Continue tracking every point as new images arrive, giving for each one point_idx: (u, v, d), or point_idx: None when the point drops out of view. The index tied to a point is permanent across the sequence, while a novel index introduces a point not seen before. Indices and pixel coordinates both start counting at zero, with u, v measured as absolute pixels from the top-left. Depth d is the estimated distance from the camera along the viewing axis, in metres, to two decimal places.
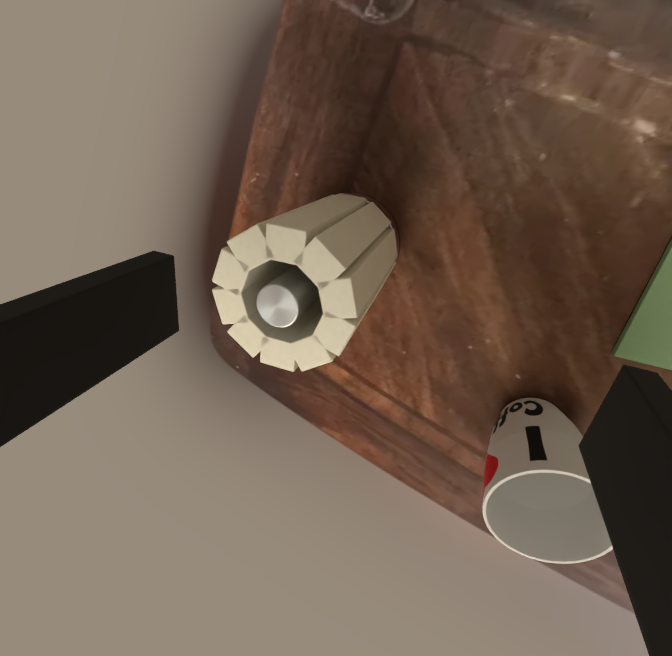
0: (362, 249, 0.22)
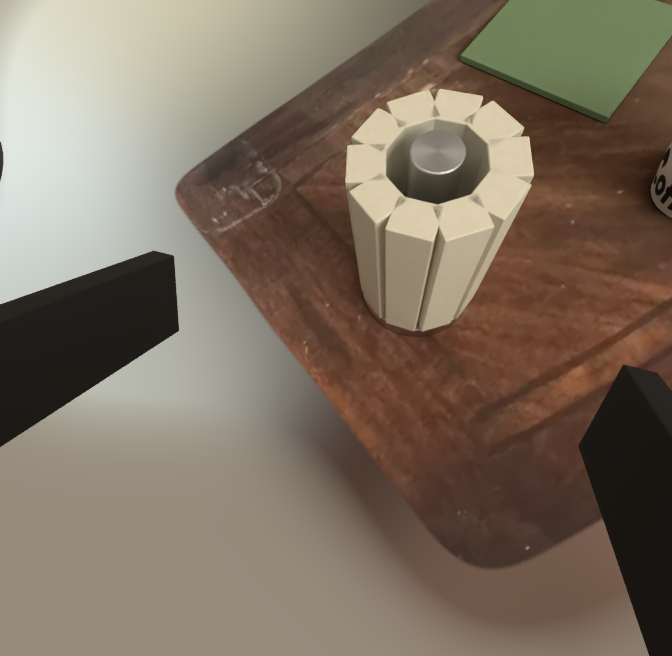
0: None
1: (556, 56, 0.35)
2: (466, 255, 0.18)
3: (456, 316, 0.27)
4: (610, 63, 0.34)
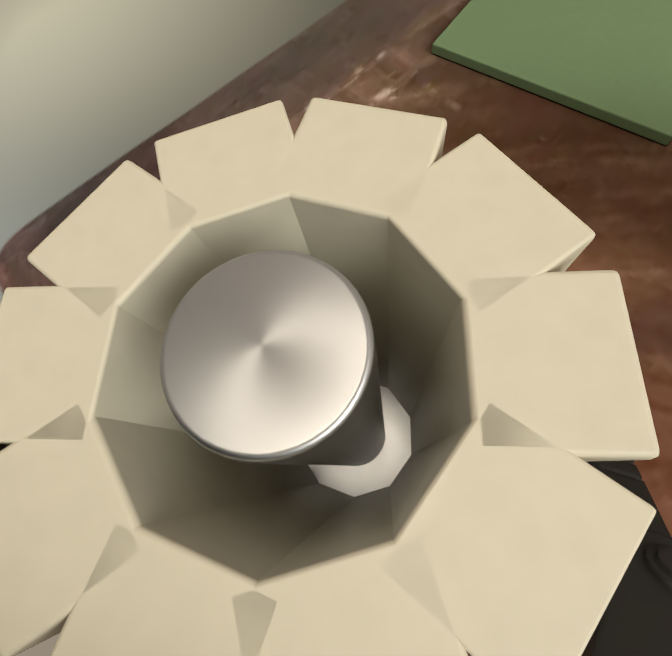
0: None
1: (580, 42, 0.22)
2: None
3: None
4: (667, 51, 0.21)
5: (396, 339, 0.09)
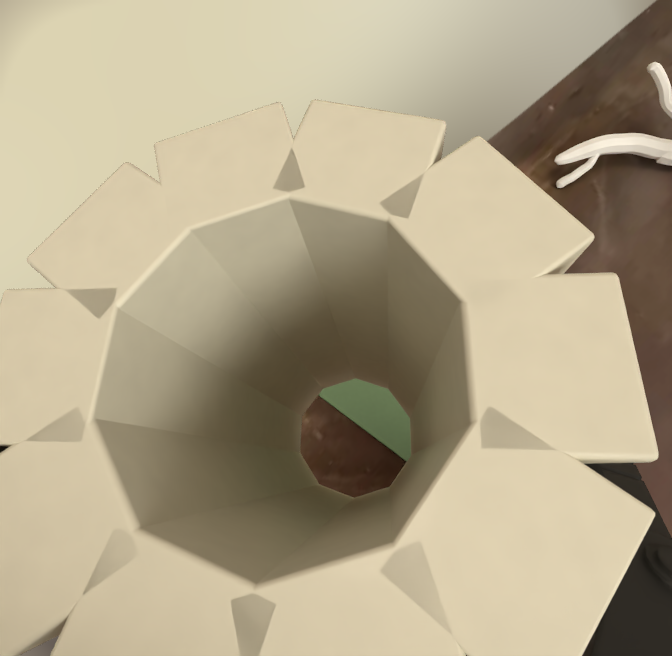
0: None
1: None
2: None
3: None
4: None
5: (396, 340, 0.09)
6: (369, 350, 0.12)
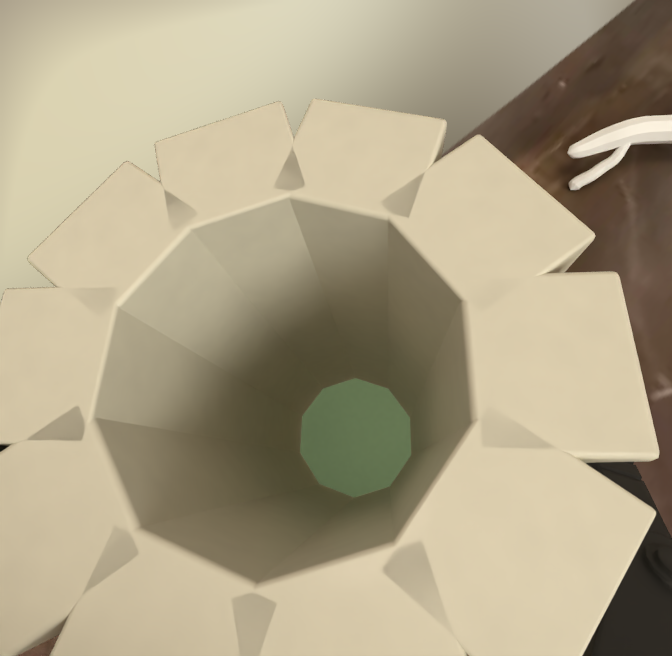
0: None
1: (339, 489, 0.24)
2: None
3: None
4: None
5: (396, 340, 0.09)
6: (369, 349, 0.12)
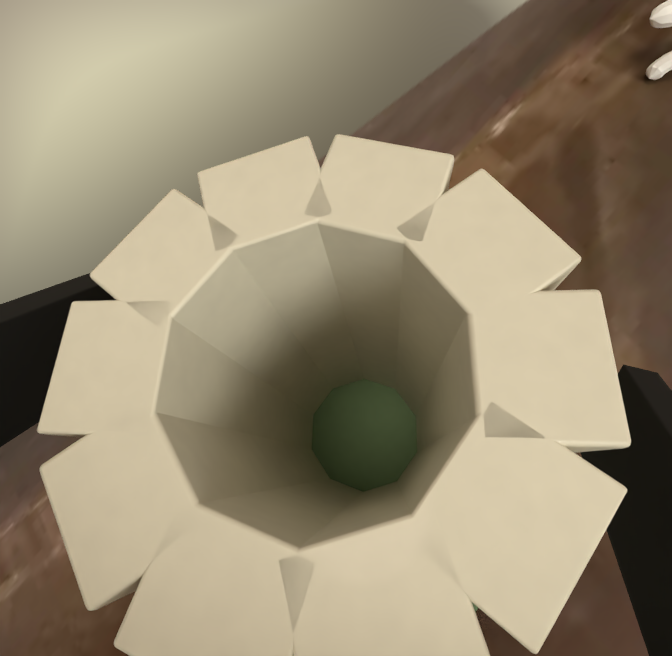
0: None
1: None
2: None
3: None
4: None
5: (406, 344, 0.10)
6: (379, 352, 0.12)
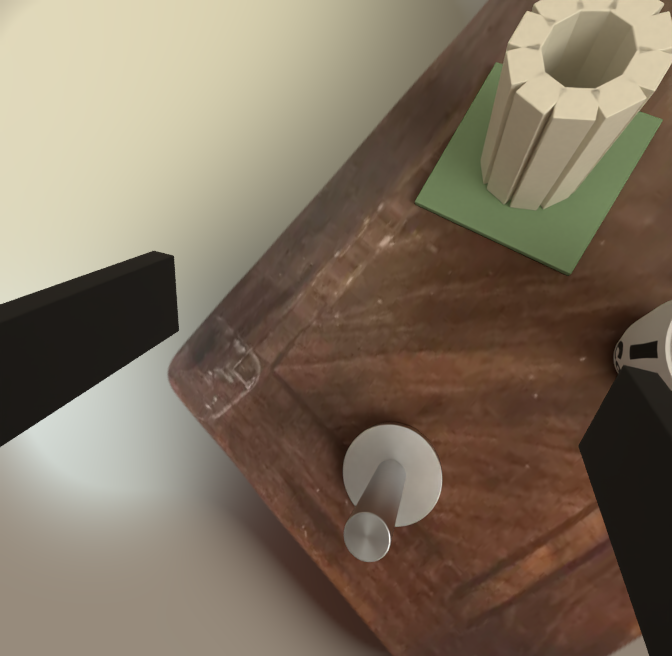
0: None
1: None
2: (614, 128, 0.22)
3: (574, 190, 0.31)
4: (572, 202, 0.32)
5: (583, 74, 0.25)
6: None
